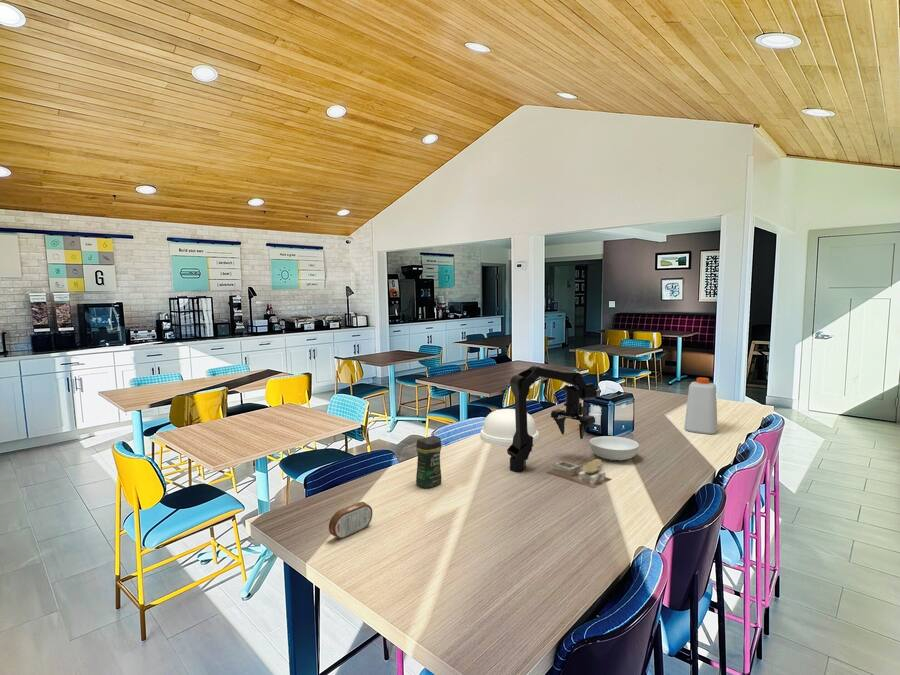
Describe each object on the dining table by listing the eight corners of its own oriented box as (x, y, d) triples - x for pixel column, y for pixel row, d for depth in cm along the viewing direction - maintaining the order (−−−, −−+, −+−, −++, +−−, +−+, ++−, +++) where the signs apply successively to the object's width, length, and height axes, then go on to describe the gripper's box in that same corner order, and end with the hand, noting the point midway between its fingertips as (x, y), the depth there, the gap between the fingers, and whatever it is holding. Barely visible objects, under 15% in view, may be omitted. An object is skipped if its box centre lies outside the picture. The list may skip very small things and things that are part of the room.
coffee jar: (426, 490, 182) (425, 442, 180) (412, 484, 187) (412, 437, 186) (445, 483, 188) (445, 436, 186) (431, 478, 194) (431, 432, 192)
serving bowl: (631, 450, 227) (631, 436, 226) (644, 466, 206) (645, 450, 205) (585, 449, 229) (586, 435, 228) (594, 464, 208) (594, 449, 207)
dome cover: (470, 432, 258) (470, 406, 256) (520, 426, 268) (520, 401, 267) (497, 450, 228) (497, 421, 226) (551, 443, 238) (552, 415, 237)
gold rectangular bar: (600, 477, 191) (601, 459, 191) (587, 484, 184) (587, 466, 184) (596, 475, 193) (596, 458, 192) (582, 482, 186) (582, 464, 185)
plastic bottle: (717, 428, 262) (720, 377, 259) (715, 435, 249) (718, 381, 246) (686, 424, 270) (688, 374, 267) (683, 431, 257) (685, 379, 254)
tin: (368, 522, 157) (367, 497, 156) (374, 525, 154) (373, 500, 154) (328, 540, 145) (327, 513, 145) (334, 544, 143) (333, 516, 142)
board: (594, 490, 181) (594, 480, 180) (545, 474, 197) (545, 465, 196) (612, 481, 189) (612, 471, 189) (564, 467, 205) (564, 457, 205)
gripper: (602, 401, 205) (601, 437, 207) (564, 394, 219) (564, 428, 220) (588, 405, 198) (587, 443, 199) (550, 398, 211) (549, 433, 213)
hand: (572, 436), depth 208 cm, fingers open, 9 cm apart
